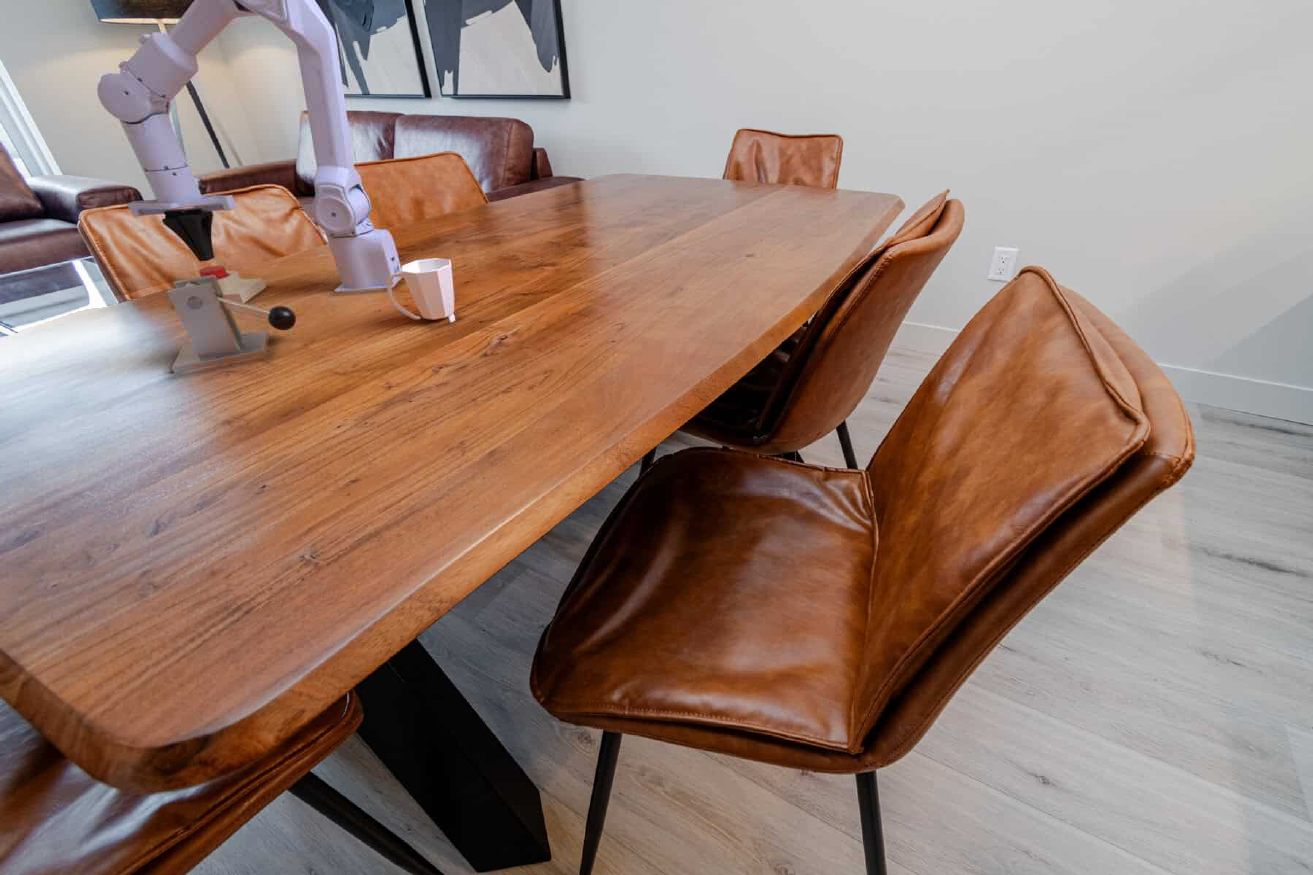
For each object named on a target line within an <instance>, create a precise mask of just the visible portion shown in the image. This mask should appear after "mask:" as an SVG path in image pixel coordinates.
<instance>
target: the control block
mask: <svg viewBox="0 0 1313 875" xmlns="http://www.w3.org/2000/svg"><path fill="white" fill-rule="evenodd" d="M226 272H227V274H228V277H225V278H222V279H218V283H219V285H220V287H221V289H222V292H223V294H224V296H225V298H226V299H228V300H232V301H235V302H239V303H243V304H246V302H247V301H249V300H250V299H252V298H253V297H255V296H256V295H257V294H259V293H261V291H264V290H265V289H266V284H265V282H264V279H263V278H262V277H259V278H256V277H255V278H243V279H242V278H241V277H240V275H239V273H238V271H234V270H226ZM198 277H201V276H200V275H199V276H198Z"/></svg>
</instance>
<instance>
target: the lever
mask: <svg viewBox="0 0 1313 875" xmlns="http://www.w3.org/2000/svg"><path fill="white" fill-rule="evenodd" d="M195 285H196V284H193V283H189V282H187V284H186V285H185V287H189V286H195ZM213 290H214V292H215V289H213ZM217 298H218V301H219V303H220V305H221V307H222V308H223V309H227V310H231V312H235V313H240V314H244V315H248V316H252V317H256V318H259V319H263V320H267V321H268V323H269V324H270V326H271V327H272V328H274V329H275V330H278V331H289V330H290V329H292V328H293V327H295V325H296V322H297V316H296V314H295V312H294V311H293V310H292V309H291V308H289V307H287V306H283V305H277V306H274V307H272V308H271V309H268V308H267V309H266V308H263V307H259V306H255V305H251V304H246V303H239V302H235V301H232V300H228V299H224V298H220V297H217Z"/></svg>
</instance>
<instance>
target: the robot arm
mask: <svg viewBox="0 0 1313 875" xmlns="http://www.w3.org/2000/svg"><path fill="white" fill-rule="evenodd" d="M256 16H260V17H261V18H264V19H265V20H267V21H269V22H270V23H272V24H273V26H275V27H276V28H278V29H279V30H280V31H281V32H282V33H283V34H284V35H285V36H287V38H289V39H290V40H291V41H292V42H293V43H294V45H295V46H296V51H297V58H298V63H299V69H300V75H301V80H302V87H303V92H304V99H305V104H306V110H307V111H306V112H307V116H308V122H309V128H310V135H311V141H312V145H313V146H312V147H313V152H314V159H315V164H316V172H315V177H314V183H313V186H314V192H315V194H314V195H315V196H314V199H313V201H312V205H311V213H312V216H313V220H314V222H315V223H316V224H317V225H318V226H319V228H320V229H322V230H323V231H324V234H325V237H326V239H327V243H328V245H329V248H330V252H331V254H332V257H333V259H334V260H333V261H334V263H335V266H336V269H337V272H338V276H339V278H340V281H341V284H340V285H339V286H338V287H336V288H335V289H334V292H335V293H340V292H342V293H343V292H353V291H368V290H380V289H381V290H382V289H387V282H388V280H389V278H390V276H391V275H393V274H395V273H398V272H401V267H402V264H401V261H400V258H399V254H398V250H397V247H396V242H395V240H394V237H393V235H392V233H391V232H390V231H389V230H388V229H378V228H374V225H373V223H372V222H371V221H370V219H369V216H370V214H371V210H372V204H371V200H370V197H369V196H368V194H367V193H366V191H365V189H364V187H363V183H362V177H361V175H360V174H359V172H358V171H357V170H356V168H355V164H354V157H353V156H354V155H353V150H352V149H353V148H352V144H351V143H352V142H351V136H350V128H349V122H348V121H349V120H348V113H347V106H346V101H345V92H344V85H343V77H342V71H341V70H342V69H341V63H340V55H339V51H338V42H337V36H336V33H335V29H334V27H333V26H332V25H331V23H330V21H329V20H328V18H327V16H326V15H325V14H324V12H323V10H322V9H321V7H320V6H319V4H318V3H317V1H316V0H193V1H192V2H191V4H190V6H189V7H188V8H187V9H186V11H185V12H184V14H183V15H182V16H181V17H180V19H179V20H178V21H177V23H176V24H175V25H174V27H173V28H172V29H171V30H170V32H169V33H165V32H159V31H154V32H152V33H151V34H148V33H143V34H142V35H141V36H140V37H139V38H138V39H137V41H138V42H139V44H141V46H140V47H139V48H138V49H137V50H136V51H135V53H133V55H132V56H131V57H130V58H129V59H128V60H122V61H120V62H119V64H118V68H119V69H120V71H119V73H118V72H111V73H109V72H108V73H105V74H103V75H102V76H101V77H100V81H99V82H98V84H97V89H96V91H97V96H98V99H99V101H100V103H101V105H102V107H103V108H104V109H105V110H106V111H107V112H108V114H110V115H111V116H112V117H114V118H116V119H117V120H118V121H119V123H120V125H121V126H122V129H123V131H124V134H125V136H126V138H127V140H128V142H129V144H130V146H131V148H132V150H133V152H134V154H135V158H136V159H137V161H138V163H139V166H140V167H141V170H142V172H143V175H144V176H145V178H146V180H147V183H148V185H149V187H150V189H151V191H152V193H153V196H154V197H155V199H146V200H134V201H132V202H128V203H126V206H127V208H128V209H129V212H130V213H131V215H132V217H133V218H138V217H139V218H140V217H143V216H155V215H164V218H162V219H161V221H162V223H163V226H166V228H168V229H169V230H171V231H172V232H173V233H174V234H175V235H176V236H178V238H179V239H180V240H181V241H183V242H184V244H185V245H186V246H187V248H189V249H190V251H191V252H192V253H193V255H194V256H195V257H196V258H197V260H198V261H199V262H208V261H211V260H213V259H215V253H214V248H213V241H212V228H213V227H212V225H213V219H214V212H217V211H225V212H229V211H233V210H235V209H238V206H237V203H236V201H235V198H234V196H233V194H224V195H223V194H222V195H212V194H210V195H209V194H207V195H205V194H204V195H202V193H201V191H200V188H199V186H198V184H197V182H196V180H195V176H194V174H193V173H192V170H191V167H190V166H189V163H188V161H187V159H186V156H185V153H184V152H183V149H182V146H181V145H180V142H179V140H178V137H177V135H176V133H175V130H174V128H173V125H172V122H171V120H170V113H171V108H172V105H171V104H172V103H171V102H172V101H173V99H174V98H175V97H176V96H177V95H178V94H179V93H180V92H181V91H182V89H183V88H184V87H185V86H186V85H187V84H188V83H189V82H190V81H191V80H192V79H193V77H195V75H196V74H197V73H198V72H199V64H198V59H197V55H198V54H200V52H201V51H203V49H204V48H205V47H206V46H208V44H209V43H211V42H212V41H213V40H214V39H215V38H216V37H217V36H218V35H219V34H220V33H221V32H223V30H224V29H225V28H226V27H227V26H228V25H229V24H230V23H231V22H233V21H234V20H235V19H236V18H245V17H256ZM402 279H403V278H401V277H394V278H393V280H392V282H391V287H392V288H394V287H395V286H396V284H398V282H399V281H401V280H402Z"/></svg>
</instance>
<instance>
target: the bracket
mask: <svg viewBox="0 0 1313 875" xmlns="http://www.w3.org/2000/svg"><path fill="white" fill-rule="evenodd" d="M187 282H189V283H193V284H196V285H195V286H189V287H185V285H186V284H187ZM173 286H174V288H171V289H170V288H169V289H168V290H167V291H166V294H167V296H168V298H169V300H170V302H171V303H172V306H173V308H174V309H175V312H176V314H177V316H178V317H179V320H180V322H181V323H182V326H183V328H184V329H185V332H186V334H187V336H188V338H189V339H190V342H191V343H187V344H183V345H182V347H181V348H180V351H179V352H178V354H177V356H176V358H175V361H174V362H173V364H172V366H171V370H172V371H173V373H174V374H178V373H183V372H190V371H194V370H198V369H204V368H208V367H209V368H210V367H214V366H219V365H224V364H229V363H234V362H239V361H240V362H241V361H244V360H250V359H254V358H259V357H260V358H261V357H265V356H266V353H267V349H268V344H269V339H270V333H269V331H268V329H263V330H259V331H258V330H257V331H253V332H247V333H243V334H242V332H241V329H240V328H239V327H240V326H239V325H238V322H237V321H236V318H235V316H234V314H233V311H231V310H227V309H223V308H222V307H221V305H220V303H219V301H218V298H217V297H220V298H224V299H226V298H225V296H224V294H223V292H222V289H221V287H220V285H219V283H218V280H217V278H216V276H215V275H210V276H203V277H199V276H197V277H192V278H185V279H178V280H174V281H173ZM213 289H215V292H214V290H213Z"/></svg>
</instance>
